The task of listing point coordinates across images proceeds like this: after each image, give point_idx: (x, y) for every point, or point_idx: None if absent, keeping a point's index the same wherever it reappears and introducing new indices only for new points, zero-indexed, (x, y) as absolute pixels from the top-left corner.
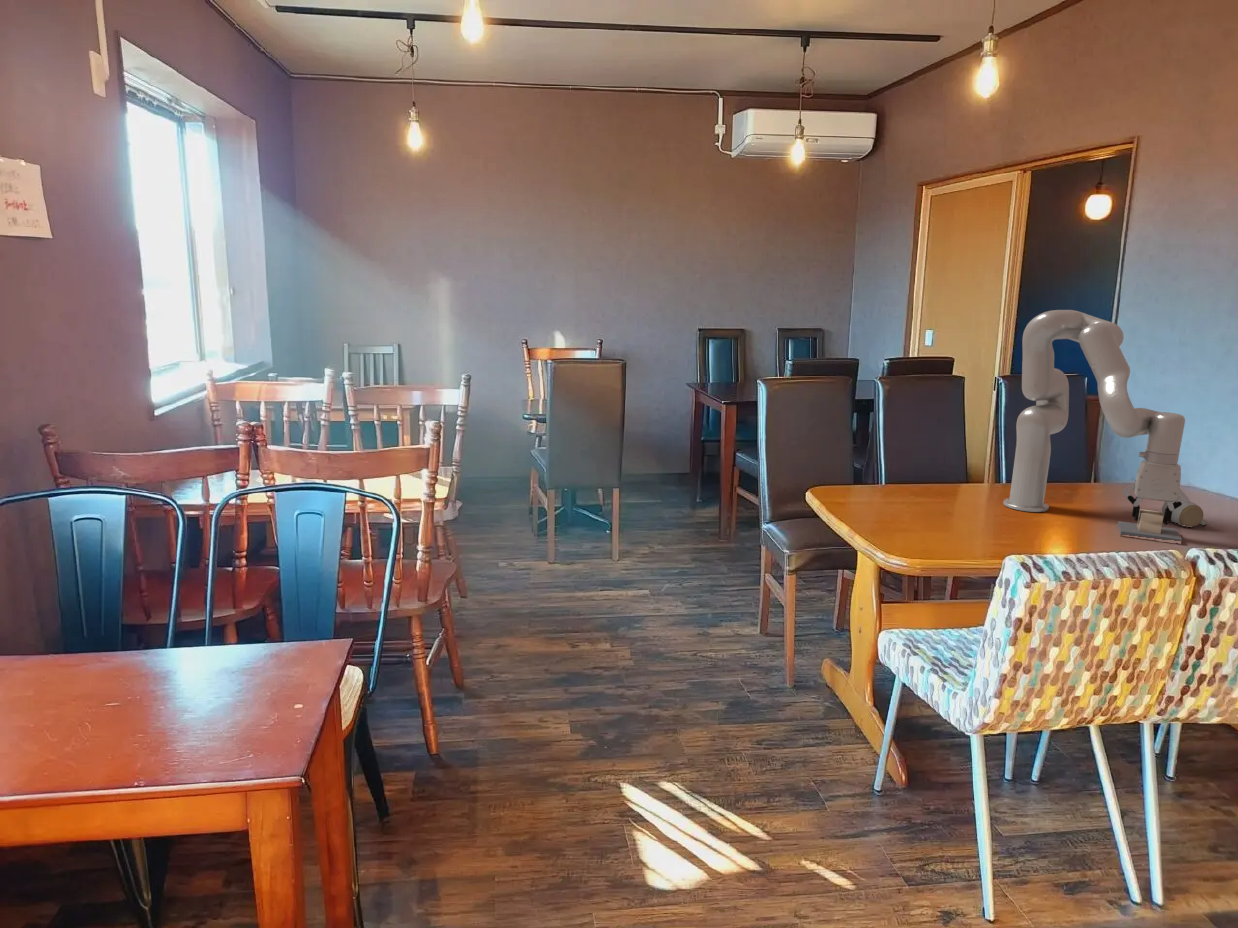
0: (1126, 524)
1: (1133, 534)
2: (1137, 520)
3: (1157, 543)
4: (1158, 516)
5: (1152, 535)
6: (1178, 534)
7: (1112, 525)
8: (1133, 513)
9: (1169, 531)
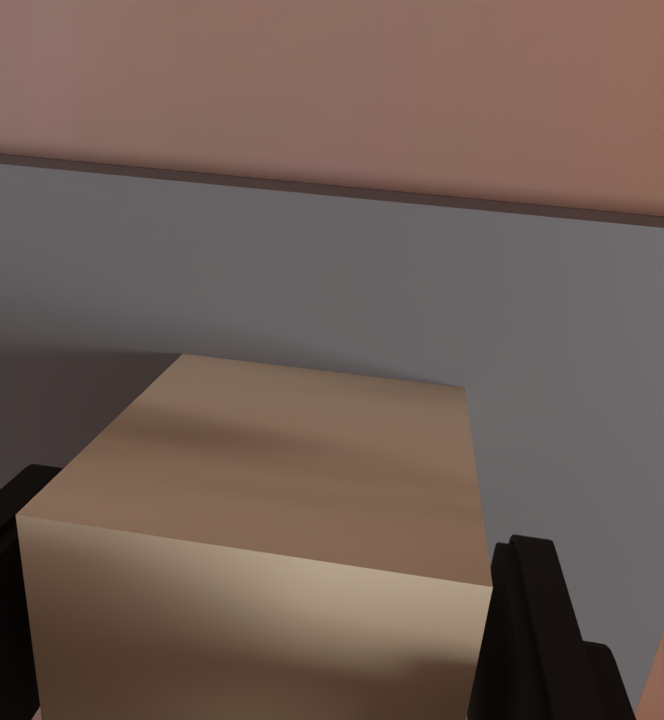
0: None
1: (582, 214)
2: (503, 546)
3: (261, 71)
4: (123, 512)
5: (306, 194)
6: None
7: (652, 712)
8: (611, 691)
9: None
